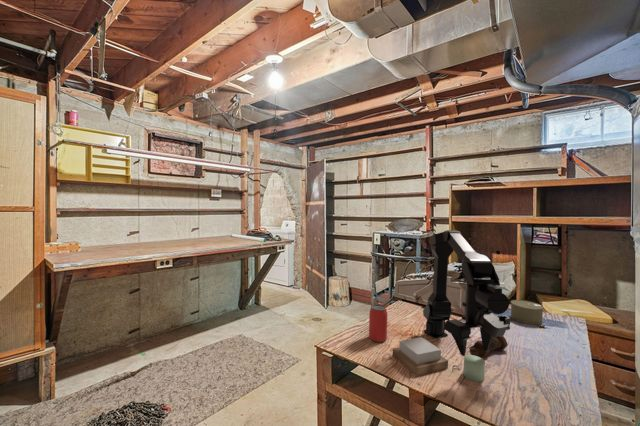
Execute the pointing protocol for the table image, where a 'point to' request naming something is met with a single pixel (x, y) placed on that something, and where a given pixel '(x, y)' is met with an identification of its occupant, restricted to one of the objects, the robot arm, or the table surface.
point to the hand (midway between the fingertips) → (474, 352)
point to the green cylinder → (474, 368)
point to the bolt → (497, 343)
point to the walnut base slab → (421, 367)
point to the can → (526, 311)
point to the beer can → (378, 323)
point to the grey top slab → (419, 350)
